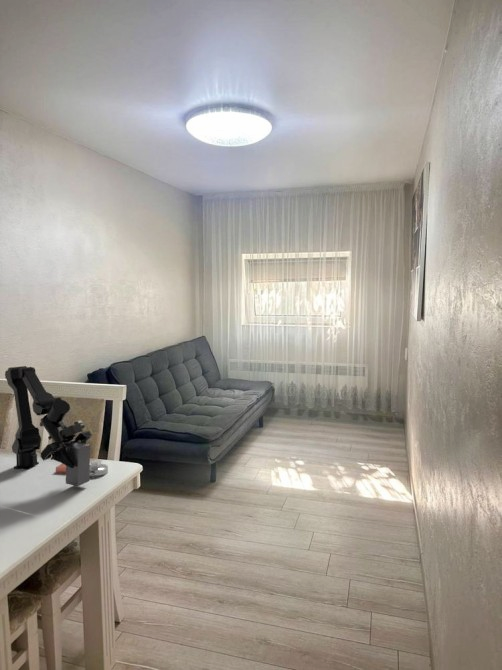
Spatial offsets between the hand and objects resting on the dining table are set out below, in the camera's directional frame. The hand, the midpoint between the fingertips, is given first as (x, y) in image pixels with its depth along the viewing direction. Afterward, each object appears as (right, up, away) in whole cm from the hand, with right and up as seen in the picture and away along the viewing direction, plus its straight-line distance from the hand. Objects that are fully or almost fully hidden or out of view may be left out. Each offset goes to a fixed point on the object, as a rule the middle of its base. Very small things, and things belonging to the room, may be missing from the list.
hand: (80, 464), depth 150 cm
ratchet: (-5, -7, +15) cm, 17 cm away
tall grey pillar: (-1, -7, +1) cm, 7 cm away
